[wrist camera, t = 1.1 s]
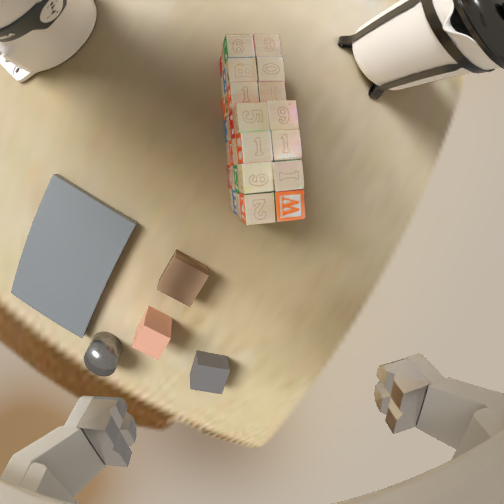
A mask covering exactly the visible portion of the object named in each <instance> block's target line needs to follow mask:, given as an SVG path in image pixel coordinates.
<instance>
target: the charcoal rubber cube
mask: <svg viewBox="0 0 504 504" xmlns="http://www.w3.org/2000/svg"><path fill="white" fill-rule="evenodd" d="M229 373H230V366H229V362H228V357H227V356H223V355H218V354H213V353H207V352H202V351H197V352H196V355H195V358H194V362H193V365H192V369H191V372H190V387H191V389H193V390H199V391H205V392H211V393H218V394H222V392H223V389H224V386H225V384H226V381H227V378H228V375H229Z"/></svg>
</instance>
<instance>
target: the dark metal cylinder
mask: <svg viewBox="0 0 504 504" xmlns="http://www.w3.org/2000/svg"><path fill="white" fill-rule="evenodd" d="M120 353H121V343H120V341H119V340H118V338H117V337H116V336H114V335H113V334H111V333H108V332H99V333H97V334H96V335H94V337H93V339H92V341H91V343H90V345H89V347H88V349H87V351H86V353H85V356H84V362H85V365H86V367H87V368H88V369H89V370H90V371H91V372H92V373H94V374H96V375H99V376H109V375H111V374H113V373H114V371H115V369H116V366H117V362H118V359H119V356H120Z"/></svg>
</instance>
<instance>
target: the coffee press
mask: <svg viewBox="0 0 504 504" xmlns="http://www.w3.org/2000/svg"><path fill="white" fill-rule="evenodd" d="M338 45H339V46H340V47H343V48H353V54H354V57H355V60H356V62H357V64H358V66H359V68H360V69H361V71H362V72H363V73H364V74H365V76H366V77H367V78H368V79H370V80H371V81H372V82H373V85H372V86H371V88H370V90H369V96H371V97H374V98H376V99H378V98H379V97H380V96H381V95H382V93H383V92H384V91H385V90H401V89H405V88H409V87H413V86H416V85H420V84H424V83H428V82H432V81H437V80H441V79H445V78H450V77H454V76H459V75H464V74H469V73H484V72H490V71H493V70H495V69H496V68H503V69H504V0H401V1H399V2H397V3H396V4H394V5H392V6H391V7H389V8H388V9H386V10H385V11H383V12H382V13H380V14H378V15H377V16H375V17H374V18H372V19H371V20H370V21H368V22H367V23H365V24H364V25H362V26H361V27H360V28H359V29H358V30H357V31H356V33H355V34H354V35H352V36H341V37H339V41H338Z"/></svg>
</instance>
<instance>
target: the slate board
mask: <svg viewBox="0 0 504 504" xmlns="http://www.w3.org/2000/svg"><path fill="white" fill-rule="evenodd" d="M136 225H137V222H135V221H134V220H132V219H130V218H129V217H127V216H125V215H124V214H122V213H120V212H119V211H117V210H115V209H114V208H112V207H110V206H109V205H107V204H105V203H104V202H102V201H100V200H99V199H97V198H95V197H94V196H92V195H91V194H89V193H87V192H86V191H84V190H82V189H81V188H79V187H77V186H76V185H74V184H73V183H71V182H69V181H68V180H66V179H65V178H63V177H61V176H60V175H58V174H53V176H52V178H51V180H50V183H49V185H48V187H47V189H46V192H45V194H44V196H43V199H42V201H41V203H40V206H39V208H38V211H37V213H36V216H35V218H34V221H33V224H32V226H31V229H30V232H29V235H28V237H27V240H26V243H25V246H24V249H23V252H22V256H21V259H20V262H19V265H18V269H17V272H16V276H15V279H14V283H13V287H12V291H11V293H12V294H13V295H15V296H16V297H18V298H19V299H21V300H22V301H23V302H25V303H26V304H28V305H29V306H31V307H32V308H34V309H35V310H37V311H38V312H40V313H41V314H43V315H44V316H46V317H48V318H49V319H51V320H52V321H54V322H56V323H57V324H59V325H60V326H62V327H64V328H65V329H67V330H69V331H70V332H72V333H74V334H76V335H77V336H79V337H81V338H83V336H84V334H85V332H86V329H87V327H88V324H89V322H90V320H91V317H92V315H93V313H94V310H95V308H96V306H97V304H98V301H99V299H100V297H101V295H102V293H103V290H104V288H105V286H106V284H107V282H108V280H109V278H110V276H111V273H112V271H113V269H114V267H115V265H116V263H117V261H118V259H119V257H120V255H121V253H122V251H123V249H124V247H125V245H126V244H127V242H128V240H129V238H130V236H131V234H132V232H133V230H134V228H135V227H136Z"/></svg>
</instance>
